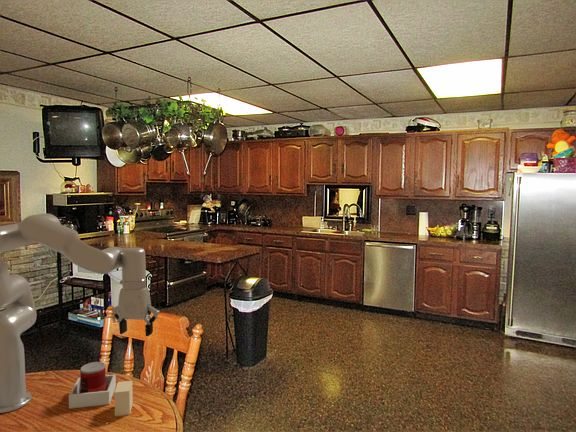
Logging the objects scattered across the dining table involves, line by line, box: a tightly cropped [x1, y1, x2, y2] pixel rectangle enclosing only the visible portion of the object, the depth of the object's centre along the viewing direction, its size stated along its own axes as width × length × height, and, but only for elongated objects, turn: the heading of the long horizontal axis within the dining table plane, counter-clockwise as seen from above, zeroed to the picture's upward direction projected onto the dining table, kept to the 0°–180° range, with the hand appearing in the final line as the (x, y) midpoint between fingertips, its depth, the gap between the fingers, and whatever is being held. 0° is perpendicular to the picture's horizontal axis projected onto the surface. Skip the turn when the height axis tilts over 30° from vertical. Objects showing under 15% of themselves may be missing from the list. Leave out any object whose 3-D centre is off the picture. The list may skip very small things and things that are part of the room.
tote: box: [68, 374, 117, 409], centre depth 140 cm, size 12×12×4 cm
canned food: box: [79, 361, 107, 393], centre depth 140 cm, size 8×8×11 cm
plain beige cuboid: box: [113, 380, 134, 417], centre depth 133 cm, size 4×7×8 cm, turn 14°
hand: (136, 333), depth 137 cm, fingers open, 9 cm apart
